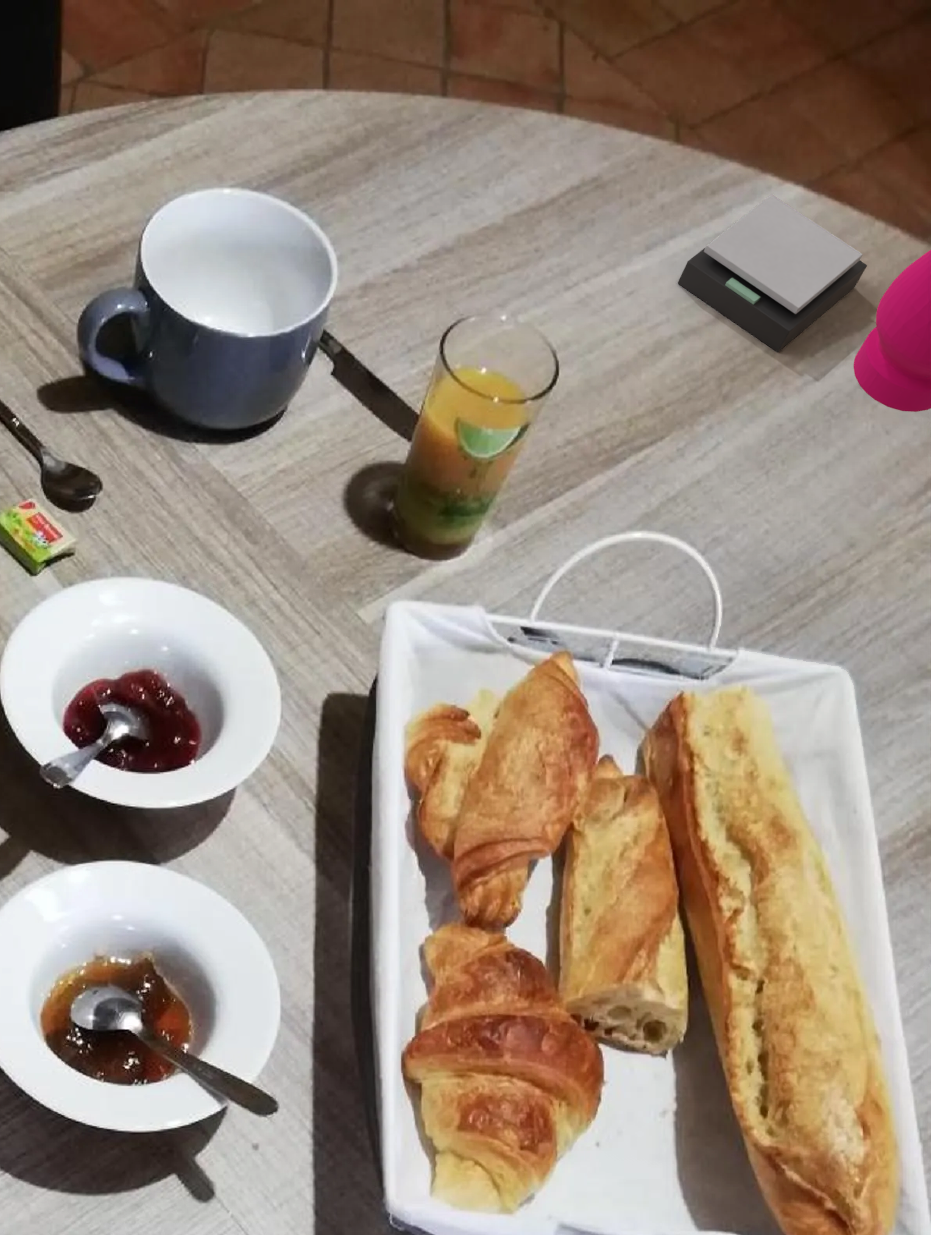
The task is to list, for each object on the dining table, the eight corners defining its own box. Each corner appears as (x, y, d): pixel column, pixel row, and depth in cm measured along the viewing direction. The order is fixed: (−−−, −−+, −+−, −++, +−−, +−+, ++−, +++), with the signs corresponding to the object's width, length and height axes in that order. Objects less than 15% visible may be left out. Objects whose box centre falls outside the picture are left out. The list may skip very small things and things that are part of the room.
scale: (854, 286, 133) (875, 251, 130) (777, 352, 129) (797, 317, 127) (755, 220, 135) (773, 184, 132) (677, 283, 132) (693, 247, 129)
